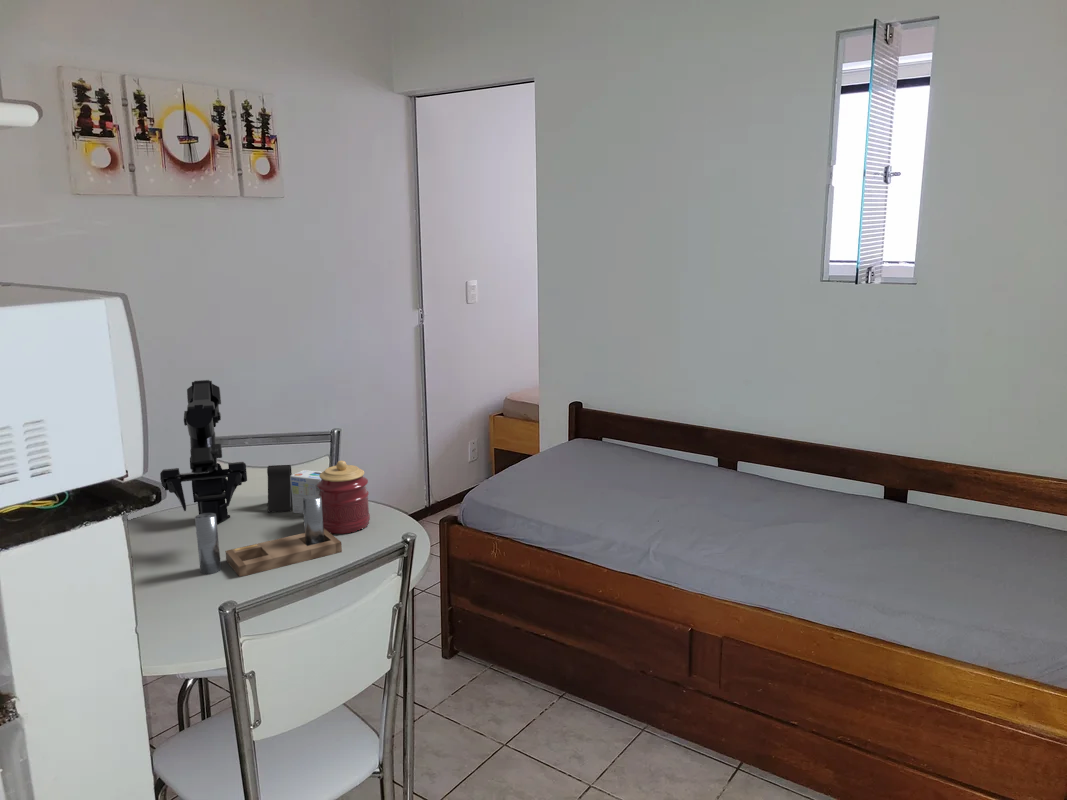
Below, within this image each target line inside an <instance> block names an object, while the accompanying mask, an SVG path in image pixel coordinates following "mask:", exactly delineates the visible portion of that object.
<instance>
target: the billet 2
mask: <svg viewBox="0 0 1067 800" xmlns="http://www.w3.org/2000/svg"><path fill="white" fill-rule="evenodd" d="M303 513H304V514H303V525H304V533H305V542H306V545H307V546H309V545H314V544H318V543H322V542H324V527H323V512H322V497H321V496H319V495H309V496H306V497H304V498H303Z"/></svg>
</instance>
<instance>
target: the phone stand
mask: <svg viewBox="0 0 1067 800" xmlns="http://www.w3.org/2000/svg"><path fill="white" fill-rule="evenodd" d="M266 473H267V513H284V512H285V513H286V512H291V511H292V510H293V505H292V492H291V479H290V476H291V475H293V474H292V473H293V472H292V465H291V464H281V465H279V464H278V465H274V464H273V465H268V466H267V469H266Z"/></svg>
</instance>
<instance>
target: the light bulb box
mask: <svg viewBox="0 0 1067 800" xmlns="http://www.w3.org/2000/svg"><path fill="white" fill-rule="evenodd" d="M322 472H323V471H319V470H308V469H302V470H301V471H298V472H296V473H294V474H292V475H291V476H290V479H291V492H292V505H293V507H292V513H293V514H294V513H295V514H301V515H304V513H303V498H304V497H306V496H309V495H319V488H318V487H317V483H318V482H319V481H320V480H321V478H320V476H319V475H320V474H321V473H322Z"/></svg>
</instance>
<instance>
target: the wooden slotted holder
mask: <svg viewBox="0 0 1067 800" xmlns="http://www.w3.org/2000/svg"><path fill="white" fill-rule="evenodd" d="M342 551H343V549H342V541H341V540H339V539H338V538H337V537H336V536H334V535H333V533H329V532H328V531H327V530H326V529H324V542H322V543H318V544H314V545H309V546H307V545H306V542H305V532H303V533H299V534H294V535H289V536H285V537H284V536H283V537H281V538H277V539H272V540H267V541H263V542H258V543H253V544H250V545H246V546H241V547H237V548H232V549H228V550H225V561H226V563H228V565H229V566H230V567H231V568H232V570H233V571H234V572H235V573H236V575H238V577H239V578H241V577H246V576H249V575H253V574H258V573H261V572H266V571H269V570H274V569H278V568H282V567H286V566H291V565H294V564H298V563H304V562H306V561H310V560H311V561H312V560H315V559H318V558H319V559H320V558H322V557H326V556H331V555H335V554H338V553H342Z"/></svg>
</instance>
